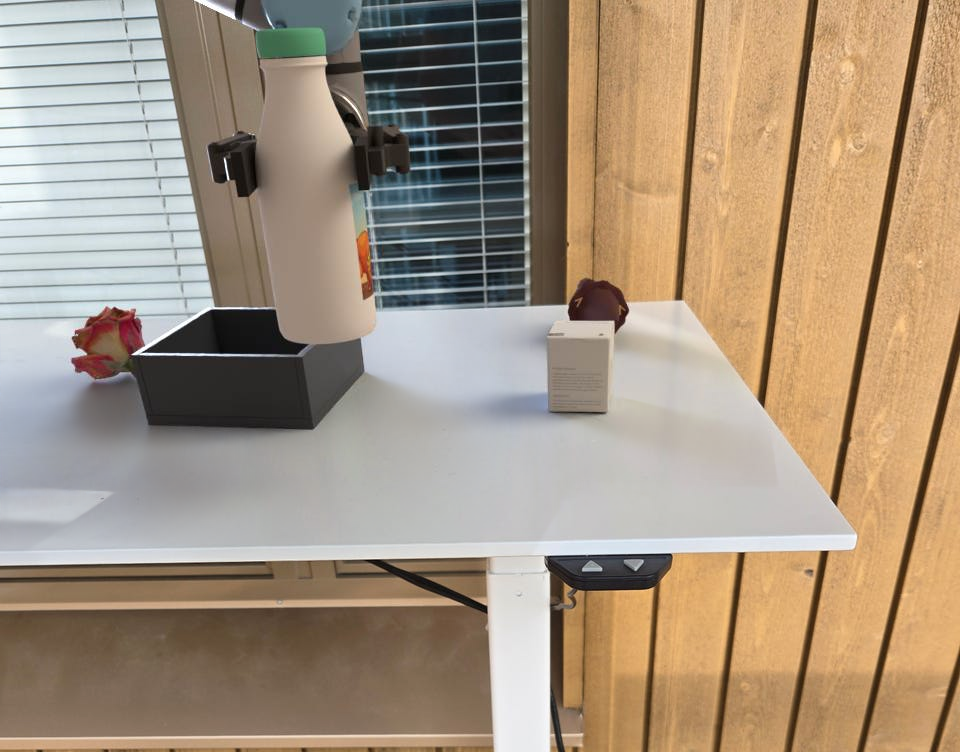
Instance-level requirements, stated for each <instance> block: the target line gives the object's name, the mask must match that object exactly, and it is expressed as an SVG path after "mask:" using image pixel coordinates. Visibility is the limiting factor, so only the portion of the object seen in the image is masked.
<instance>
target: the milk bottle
mask: <svg viewBox="0 0 960 752" xmlns="http://www.w3.org/2000/svg"><path fill="white" fill-rule="evenodd" d="M255 45H256V52H257V56H258V58H259V64H260V65H259V68H260V70H262V71H263V74H264V81H265V92H264V102H263V103H264V104H263V110H262V111H263V112H262V117H261V122H260V126H259V129H258V134H257V138H256V139H257V144H256V152H255V174H256V184H257V189H256V192H257V198H258V199H257V201H258V206H259V212H260V219H261V220H260V221H261V226H262V232H263V239H264V247H265V252H266V257H267V264H268V270H269V276H270V282H271V288H272V295H273V301H274V308H276V313H277V319H278V324H279V329H280V332H281V333H282V335H283V337H284V338H285V339H287V340H289V341H292V342H296V343H303V344H330V343H339V342H346V341H351V340H355V339H358V338H361V339H362V338H364V337H366V336H368V335H371V334H372V333H373V332H374V331H375V329H376V326H377V309H376V308H377V307H376V298H375V289H374V280H373V279H374V277H373V268H372V261H371V258H372V257H371V249H370V240H369V231H368V221H367V212H366V203H365V195H364V191H359V189H358V180H357V170H356V161H355V151H354V145H353V142H352V140H351V137H350V135H349V133H348V131H347V129H346V127H345V125H344V123H343V121H342V119H341V117H340V115H339V113H338V111H337V109H336V107H335V104H334V102H333V99H332V97H331V94H330V91H329V88H328V85H327V81H326V76H325V67H326V65H327V64H328V63H327V61H326V56H313V55H326V43H325V37H324V32H323V30H322V29H321V28H315V27H308V28H282V29H266V30H259V31H257V30H256V32H255ZM295 56H296V57H295Z"/></svg>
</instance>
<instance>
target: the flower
mask: <svg viewBox="0 0 960 752" xmlns="http://www.w3.org/2000/svg"><path fill="white" fill-rule="evenodd" d="M136 312H137V308H134V307H133V308H131V309H130V310H129V309H120V308H117V307H116V306H113V307H112V308H111V307H109V306H105V307H104V309H103V310H102V311H101V312H100V313H99V314H98V315H95V316H89V317H88V319H87V320H86V322H85V325H84V326H83V328H78V329H75V330H74V335H72V336H71V341H72V342H73V345H74V347H75V349H76V350H77V351H78V350H79V349H80V350H82V351H83V352H84V353H85V354H86V355H80V356H75V357H71V358H70V363H71V364H72V365H73V366H74V372H75V373H76V374H78V373H79V374H81V373H83V372H84V373H86V374H88V375H89V376H90V377H91V378H92V379H94V381H96V380H102V379H104V380H105V379H109V378H113V377H114V378H115V377H116V376H118V375H119V374H120V373H130V374H131V375H132V376H133V378H134V379H136V376H135V372H134V368H133V365H132V361H131V357H130V355H132V354H133V353H135V352H136V351H138V350H140V349H141V348H143V347H145V346H146V344H145V341H144V338H143V332H142V331H143V325H142V320H141V318H139V317H138V316H136Z"/></svg>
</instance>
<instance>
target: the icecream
mask: <svg viewBox="0 0 960 752" xmlns="http://www.w3.org/2000/svg"><path fill="white" fill-rule="evenodd" d="M576 286H577V287H576V290H575V291H574V294H573V295H572V297H571V299H570V301H569V302H568V308H567V314H568V317H569V320H568V321H614V323H615V329H614V336H616V334H617V333H618V331H619V330H620V328H622V327H623V325H625V323H626V321H627V316H628V315H629V314H630V308H629V305H628V303H627V301H626V299H625V296H624V294H623V293H624V292H623V291H622V290H621V289H620V288H619V287H617V286H615V285H614V284H612V283H611V282H609V280H606V279H605V280H604V279H602V280H601V279H600V280H599V281H598V280H597V281H596V280H595V279H592V278H588V277H585V278H582V279H580V280H579V282H578V283H577V285H576Z"/></svg>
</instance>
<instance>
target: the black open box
mask: <svg viewBox="0 0 960 752" xmlns="http://www.w3.org/2000/svg"><path fill="white" fill-rule="evenodd" d="M362 345H363V344H362V337H361V338H358V339H355V340H351V341H346V342H339V343H330V344H303V343H296V342H292V341H289V340H287V339H285V338H284V337H283V335H282V333H281V332H280V329H279V324H278V319H277V313H276V307H206V308H205V309H203V310H201V311H199V312H198V313H197V314H195V315H193V316H191V317H190V318H189V319H187V320H185V321H183V322H182V323H181V324H179V325H177V326H175V327H174V328H172V329H171V330H169V331H167V332H166V333H164V334H162V335H160V336H159V337H157V338H156V339H154V340H152V341H151V342H150V343H148V344H145V347H143V348H141V349H140V350H138V351H136V352H135V353H133V354H132V355H130V357H131V361H132V365H133V368H134V372H135V376H136V378H135V380H136V384H137V387H138V390H139V394H140V398H141V401H142V406H143V409H144V413H145V418H146V421H147V425H148V426H149V425H150V426H183V427H184V426H186V427H219V428H220V427H221V428H222V427H225V428H226V427H227V428H263V429H264V428H265V429H301V430H314V429H315V428H316V427H317V426H318V425H319V424H320V422H321V421H322V420H323V419H324V418H325V417H326V416H327V415H328V413H330V411H331V410H332V409H333V408H334V406H335V405H336V404H338V402H339V401H340V400H341V399H342V398H343V397H344V395H345V394H346V393H347V392H348V391H349V390H350V389H351V387H352V386H354V384H355V383H356V382H357V381H358V380H359V378H361V376H362V375H363V374H364V373H365V363H364V356H363V355H364V354H363V346H362Z"/></svg>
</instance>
